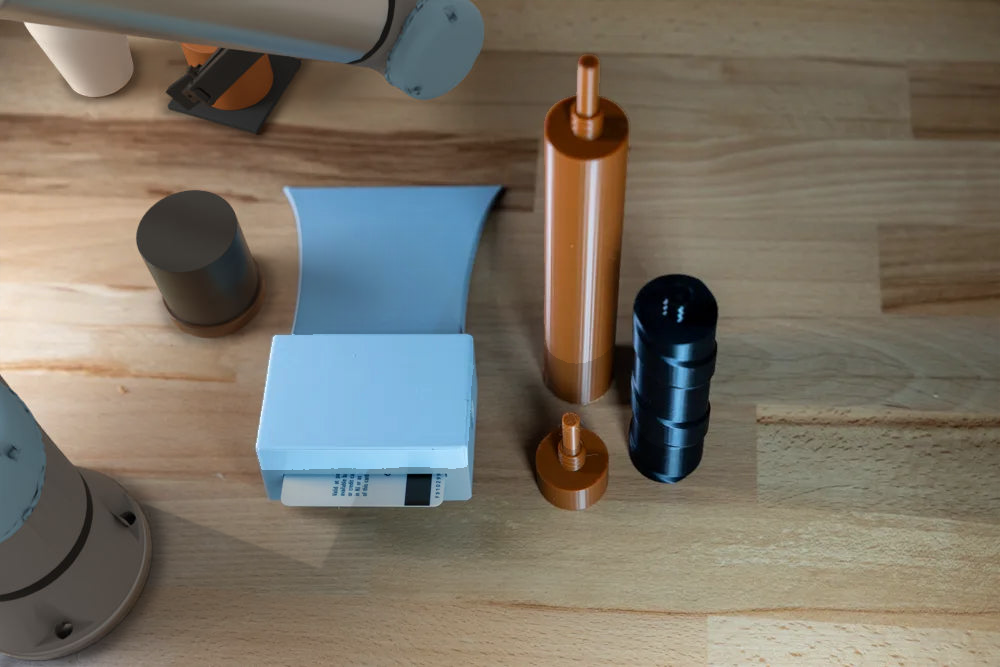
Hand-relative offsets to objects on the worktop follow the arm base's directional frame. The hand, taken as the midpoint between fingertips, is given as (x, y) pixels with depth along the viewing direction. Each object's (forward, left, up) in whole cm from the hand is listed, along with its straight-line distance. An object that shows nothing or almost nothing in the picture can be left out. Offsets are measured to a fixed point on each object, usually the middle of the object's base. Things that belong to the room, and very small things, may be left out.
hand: (211, 48), depth 115 cm
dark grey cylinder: (-23, -11, -5) cm, 26 cm away
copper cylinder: (0, -1, -4) cm, 5 cm away
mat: (0, -1, -5) cm, 5 cm away
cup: (-3, +13, -5) cm, 14 cm away
